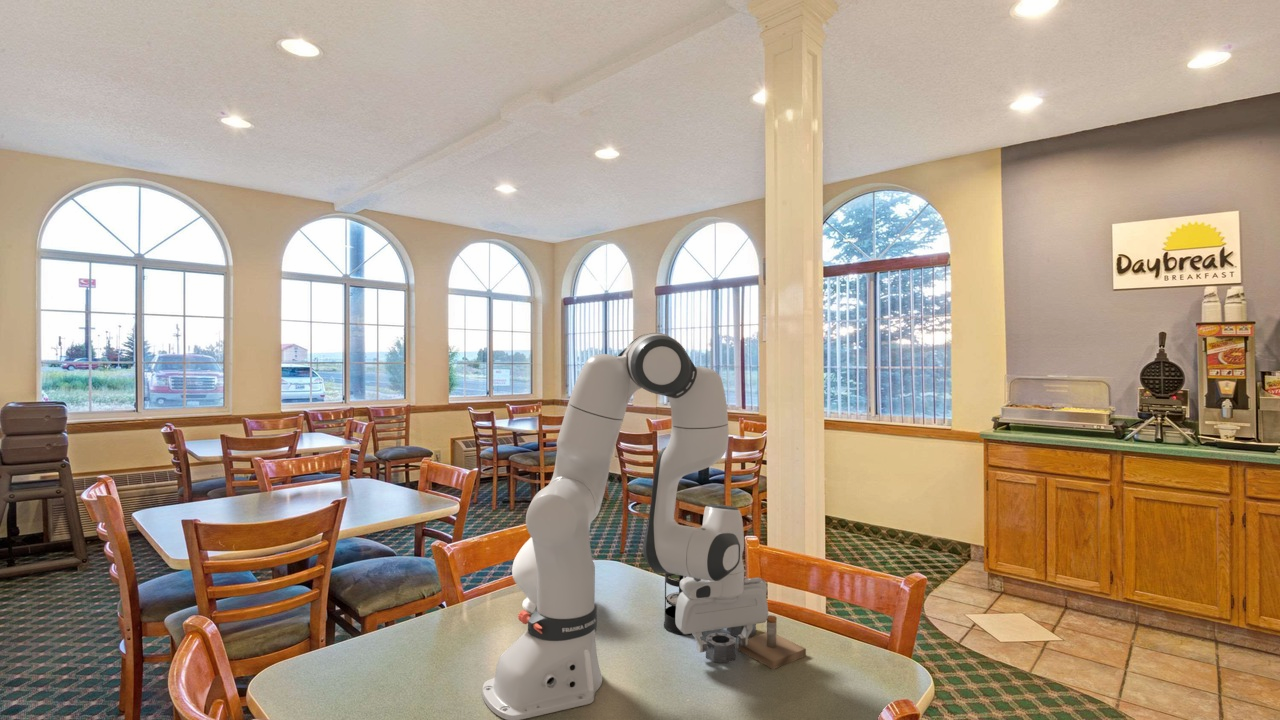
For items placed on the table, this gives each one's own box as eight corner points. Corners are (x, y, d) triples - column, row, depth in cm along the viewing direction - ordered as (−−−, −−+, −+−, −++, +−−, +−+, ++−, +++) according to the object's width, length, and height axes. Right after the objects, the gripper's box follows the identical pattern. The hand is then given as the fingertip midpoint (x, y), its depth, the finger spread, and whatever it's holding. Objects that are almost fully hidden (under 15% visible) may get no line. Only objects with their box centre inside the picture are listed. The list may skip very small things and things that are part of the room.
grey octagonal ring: (747, 639, 134) (748, 623, 134) (723, 632, 137) (723, 617, 137) (759, 630, 138) (759, 615, 139) (735, 623, 142) (735, 608, 142)
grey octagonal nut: (719, 665, 122) (719, 648, 122) (700, 654, 127) (700, 637, 127) (741, 657, 125) (741, 640, 125) (721, 646, 130) (721, 630, 130)
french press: (705, 636, 135) (706, 534, 135) (663, 636, 135) (664, 533, 135) (701, 615, 147) (702, 521, 147) (663, 614, 147) (664, 520, 147)
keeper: (772, 669, 121) (773, 631, 121) (737, 649, 129) (738, 614, 129) (805, 655, 126) (805, 620, 126) (770, 637, 135) (770, 604, 135)
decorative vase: (577, 619, 143) (578, 514, 144) (503, 617, 144) (505, 513, 144) (586, 591, 161) (587, 498, 161) (520, 590, 162) (521, 497, 162)
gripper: (758, 571, 132) (758, 634, 132) (672, 581, 126) (672, 647, 125) (774, 581, 126) (773, 647, 126) (684, 592, 120) (683, 662, 119)
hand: (722, 647), depth 126 cm, fingers open, 8 cm apart
